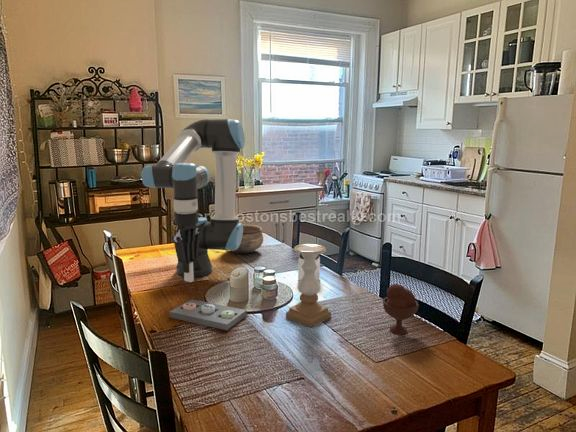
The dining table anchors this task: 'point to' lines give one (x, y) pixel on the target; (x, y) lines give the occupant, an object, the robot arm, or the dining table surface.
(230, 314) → the button one
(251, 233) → the cooking pot
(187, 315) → the keypad board
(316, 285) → the candle holder
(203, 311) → the button three
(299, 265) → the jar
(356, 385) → the dining table surface
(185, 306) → the button two
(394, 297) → the ice cream bowl
